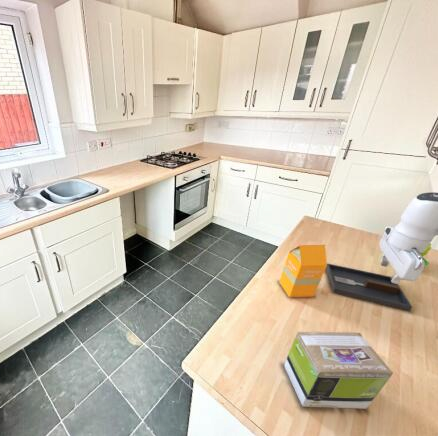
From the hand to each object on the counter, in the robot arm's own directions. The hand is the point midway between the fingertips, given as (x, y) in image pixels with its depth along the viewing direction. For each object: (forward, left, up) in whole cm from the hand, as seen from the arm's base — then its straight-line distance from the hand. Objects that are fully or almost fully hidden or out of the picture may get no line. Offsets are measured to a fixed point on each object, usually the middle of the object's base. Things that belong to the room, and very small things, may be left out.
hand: (388, 273), depth 85 cm
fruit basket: (-16, -23, -8) cm, 29 cm away
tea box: (+24, +46, -8) cm, 53 cm away
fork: (+4, 0, -8) cm, 9 cm away
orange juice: (+27, +11, -8) cm, 31 cm away
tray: (+4, 0, -8) cm, 9 cm away
